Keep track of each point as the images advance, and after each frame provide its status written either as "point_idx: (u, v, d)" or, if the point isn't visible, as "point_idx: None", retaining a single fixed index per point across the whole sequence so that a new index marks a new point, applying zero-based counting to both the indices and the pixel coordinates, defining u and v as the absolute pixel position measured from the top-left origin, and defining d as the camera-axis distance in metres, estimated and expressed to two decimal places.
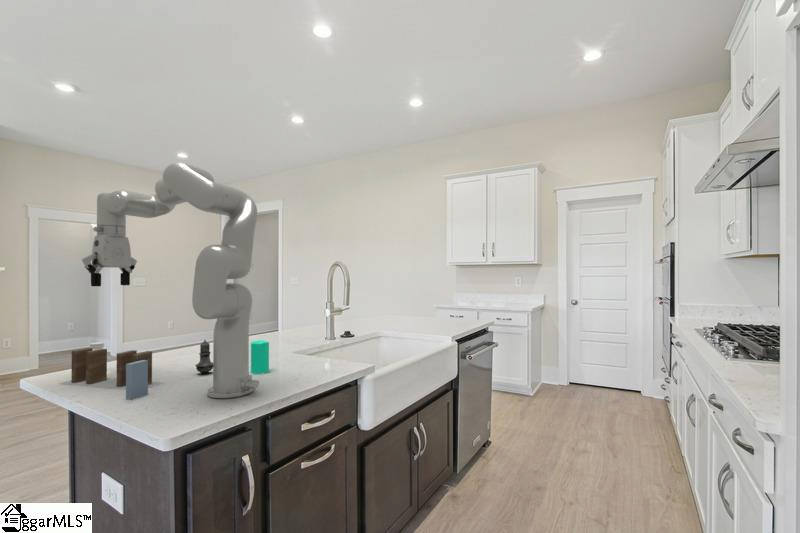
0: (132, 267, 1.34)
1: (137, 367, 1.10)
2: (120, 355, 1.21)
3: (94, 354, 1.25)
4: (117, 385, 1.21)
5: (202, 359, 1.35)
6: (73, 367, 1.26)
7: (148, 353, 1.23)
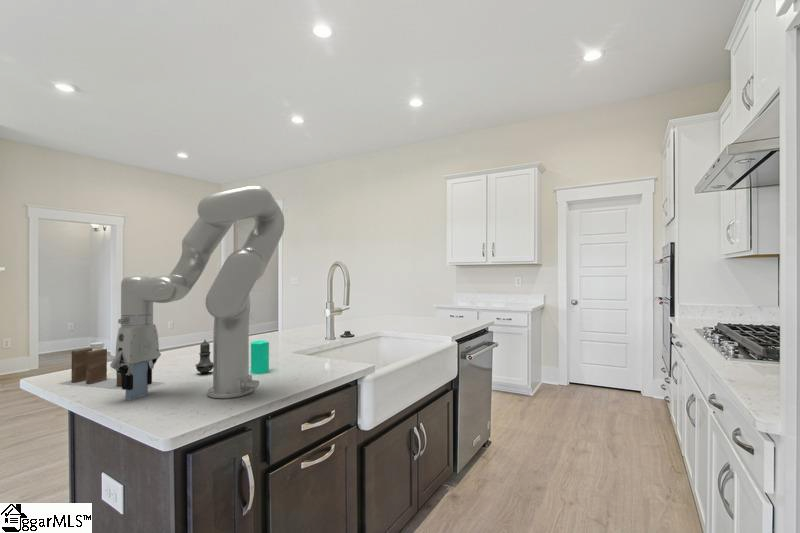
0: (154, 361, 1.16)
1: (137, 367, 1.10)
2: None
3: (94, 354, 1.25)
4: (117, 385, 1.21)
5: (202, 359, 1.35)
6: (73, 367, 1.26)
7: None
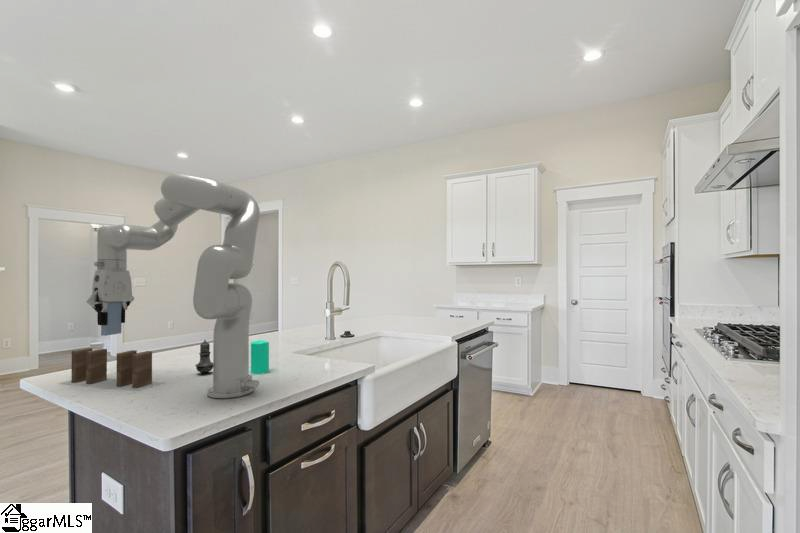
0: (127, 303, 1.30)
1: (111, 306, 1.24)
2: (120, 355, 1.21)
3: (94, 354, 1.25)
4: (117, 385, 1.21)
5: (202, 359, 1.35)
6: (73, 367, 1.26)
7: (148, 353, 1.23)
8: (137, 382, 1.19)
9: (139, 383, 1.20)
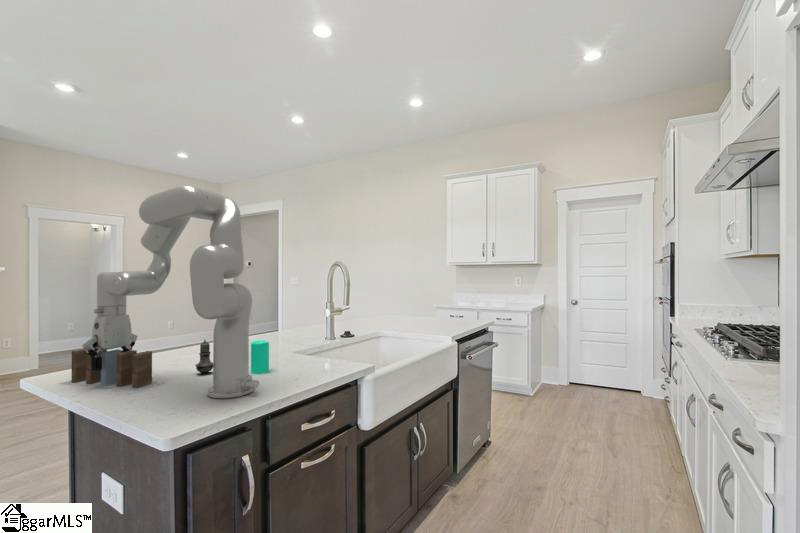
0: (132, 344, 1.31)
1: (111, 355, 1.24)
2: (120, 355, 1.21)
3: None
4: (117, 385, 1.21)
5: (202, 359, 1.35)
6: (73, 367, 1.26)
7: (148, 353, 1.23)
8: (137, 382, 1.19)
9: (139, 383, 1.20)
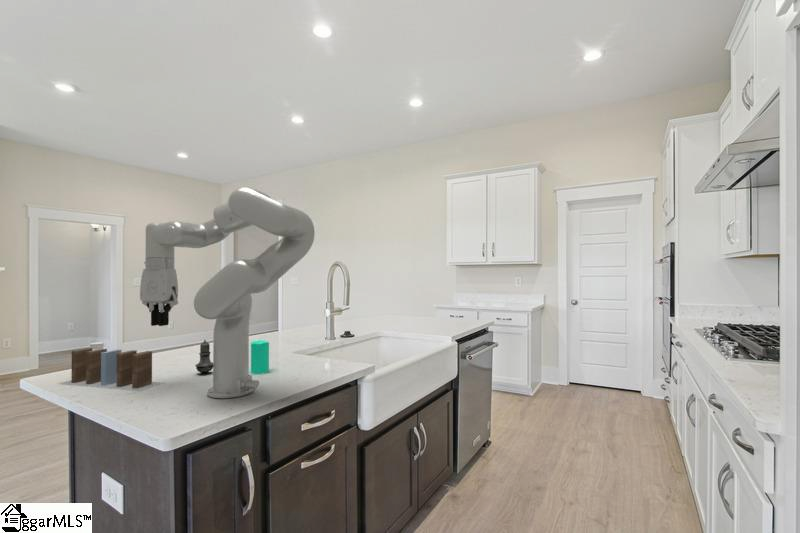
0: (166, 306, 1.19)
1: (111, 355, 1.24)
2: (120, 355, 1.21)
3: (94, 354, 1.25)
4: (117, 385, 1.21)
5: (202, 359, 1.35)
6: (73, 367, 1.26)
7: (148, 353, 1.23)
8: (137, 382, 1.19)
9: (139, 383, 1.20)
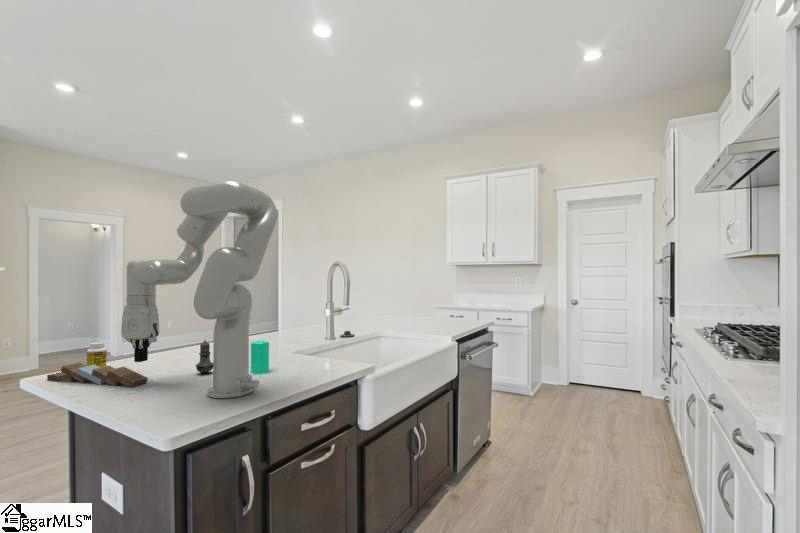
0: (145, 342, 1.21)
1: (87, 368, 1.27)
2: (93, 370, 1.23)
3: (68, 366, 1.28)
4: (114, 384, 1.21)
5: (202, 359, 1.35)
6: (59, 379, 1.27)
7: (120, 367, 1.26)
8: (129, 380, 1.20)
9: (132, 380, 1.21)
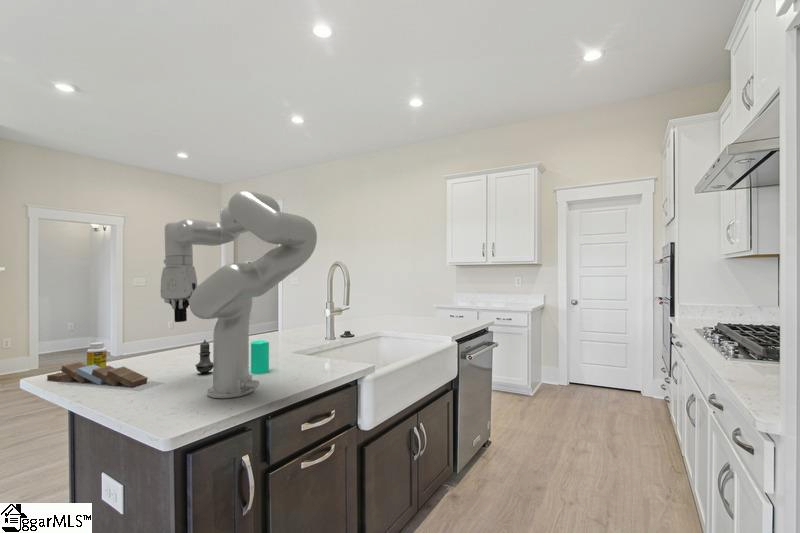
0: (184, 302, 1.23)
1: (87, 368, 1.27)
2: (93, 370, 1.23)
3: (68, 365, 1.28)
4: (114, 384, 1.21)
5: (202, 359, 1.35)
6: (59, 379, 1.27)
7: (120, 367, 1.26)
8: (129, 380, 1.20)
9: (132, 380, 1.21)
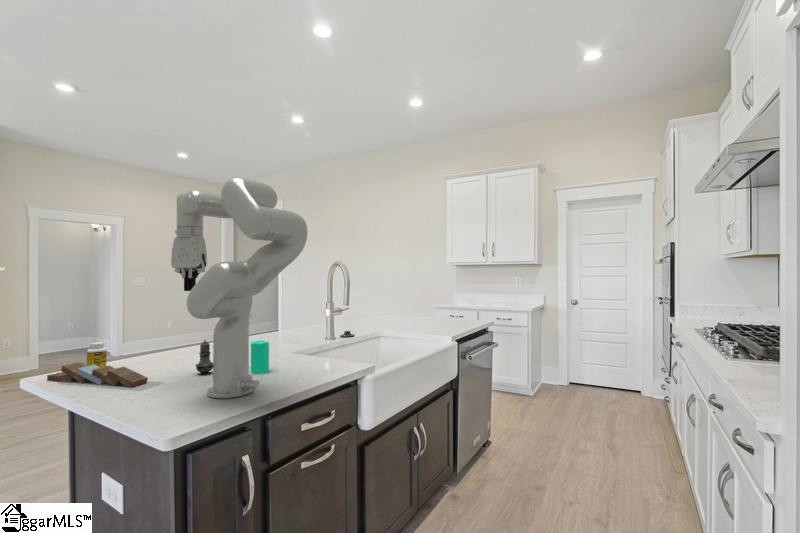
0: (194, 272, 1.26)
1: (87, 368, 1.27)
2: (93, 370, 1.23)
3: (68, 365, 1.28)
4: (114, 384, 1.21)
5: (203, 359, 1.35)
6: (59, 379, 1.27)
7: (120, 367, 1.26)
8: (129, 380, 1.20)
9: (132, 380, 1.21)
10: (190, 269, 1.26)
